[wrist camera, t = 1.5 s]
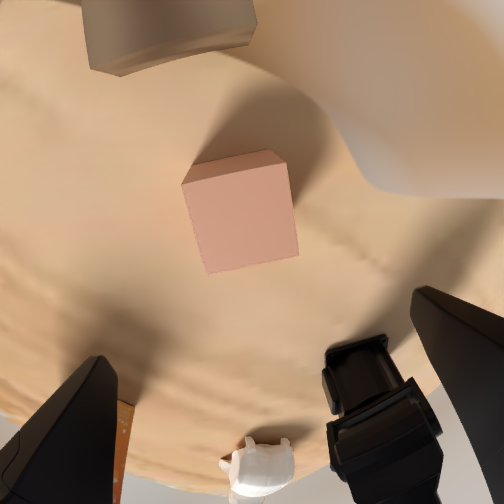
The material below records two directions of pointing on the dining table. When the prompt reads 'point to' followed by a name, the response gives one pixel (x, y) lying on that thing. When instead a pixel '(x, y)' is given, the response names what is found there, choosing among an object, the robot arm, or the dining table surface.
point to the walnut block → (161, 31)
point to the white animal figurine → (258, 470)
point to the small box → (121, 446)
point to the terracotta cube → (241, 210)
